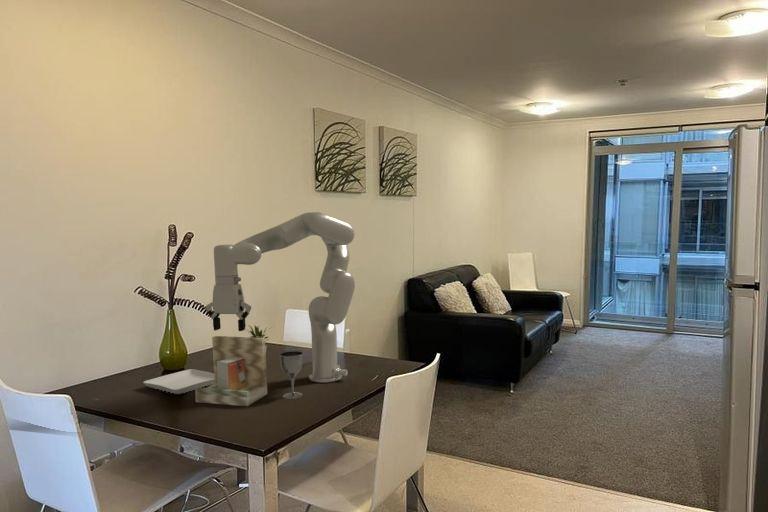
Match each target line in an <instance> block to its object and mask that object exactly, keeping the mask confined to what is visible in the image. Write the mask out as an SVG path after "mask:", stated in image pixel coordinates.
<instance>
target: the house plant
mask: <svg viewBox="0 0 768 512" xmlns="http://www.w3.org/2000/svg"><path fill="white" fill-rule="evenodd" d="M247 326H248V327H249V328H250V330H249V329H247V332H248V333H247V334H249V335H250V337H253V338H265V352H266V353H267V348H268V347H267V344H266V342H267V341H268V339H269V336H267V334H266V332H267V331H266V330H267V328H265V329H264V331H263V329H261V330H260V325H257V326H256V325H254V329H253V327H252V325H249V324H247ZM271 328H273V326H272V327H270V329H271ZM243 331H245V332H246V329H245V330H243Z"/></svg>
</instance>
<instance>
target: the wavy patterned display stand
mask: <svg viewBox="0 0 768 512" xmlns="http://www.w3.org/2000/svg"><path fill="white" fill-rule="evenodd" d="M211 340H212V341H211V342H212V361H213V363H212V364H213V374H214V384H212V385H209V386H206V387H203V388H201V387H197V388H195V390H194V392H195V393H194V394H195V403H200V404H201V403H203V404H214V405H215V404H216V405H228V406H239V407H249V406H250V405H252V404H254V403H256V401H259V400H260V399H262V398H264V397H265V396H266V395H268V381H267V380H268V379H267V378H268V377H267V358H266V357H267V355H266V354H267V351H266V352H265V344H266V342H265V341H266V339H265V338H264V337H263V338H253V337H251V336H249V337H248V336H246V337H245V336H227V335H226V336H225V335H224V336H222V335H214V336H212V337H211ZM232 357H240V358H245V376H246V388H243V389H239V390H229V389H218V377H217V361H221V360H225V359H228V358H232Z"/></svg>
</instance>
